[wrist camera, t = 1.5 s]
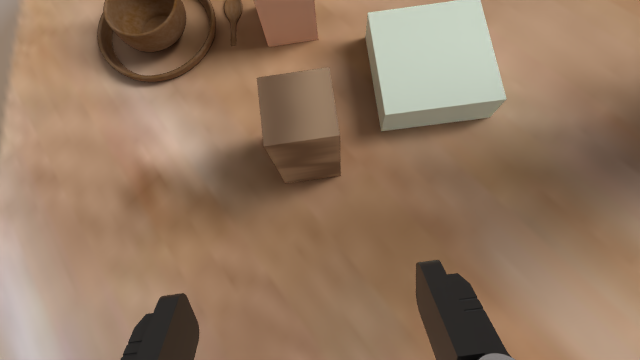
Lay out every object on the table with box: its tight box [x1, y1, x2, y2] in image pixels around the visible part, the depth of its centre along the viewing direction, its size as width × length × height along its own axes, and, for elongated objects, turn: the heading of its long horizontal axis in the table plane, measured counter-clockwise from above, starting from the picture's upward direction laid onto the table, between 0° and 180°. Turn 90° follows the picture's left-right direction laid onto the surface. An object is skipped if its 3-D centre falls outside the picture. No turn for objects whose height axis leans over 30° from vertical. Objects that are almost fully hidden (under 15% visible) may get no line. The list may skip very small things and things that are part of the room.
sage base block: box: [365, 0, 506, 131], centre depth 35 cm, size 10×10×4 cm
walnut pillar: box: [257, 67, 341, 183], centre depth 30 cm, size 5×5×10 cm
